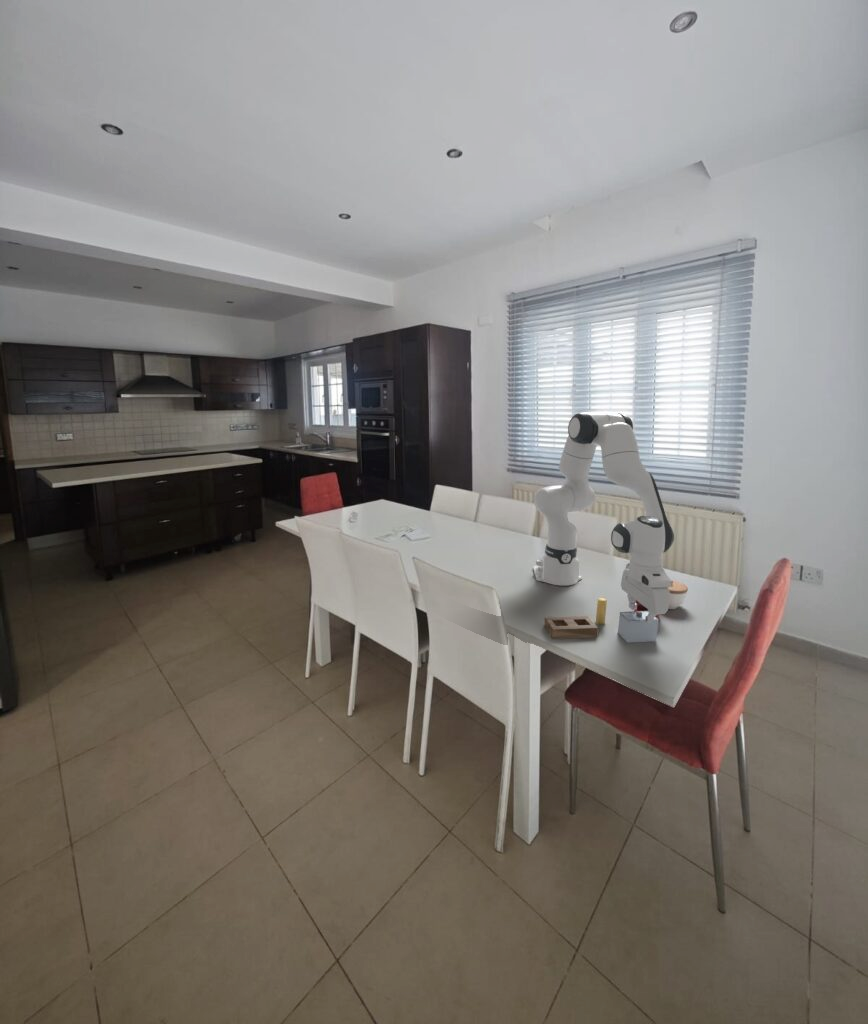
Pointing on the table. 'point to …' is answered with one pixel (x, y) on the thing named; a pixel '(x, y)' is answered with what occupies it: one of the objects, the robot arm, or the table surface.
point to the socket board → (570, 627)
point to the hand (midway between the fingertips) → (640, 615)
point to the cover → (637, 627)
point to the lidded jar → (677, 594)
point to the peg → (601, 611)
